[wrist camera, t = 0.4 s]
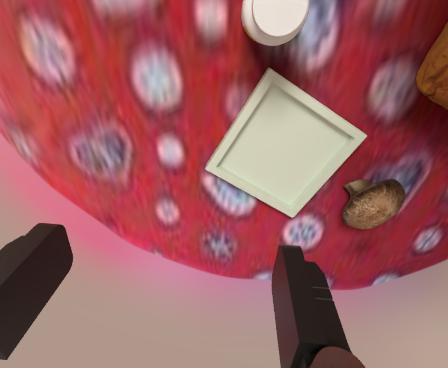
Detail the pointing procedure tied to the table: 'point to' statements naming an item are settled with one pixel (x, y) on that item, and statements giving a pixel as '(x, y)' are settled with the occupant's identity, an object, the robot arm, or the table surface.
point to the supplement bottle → (273, 19)
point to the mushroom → (372, 203)
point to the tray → (283, 145)
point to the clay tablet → (435, 71)
